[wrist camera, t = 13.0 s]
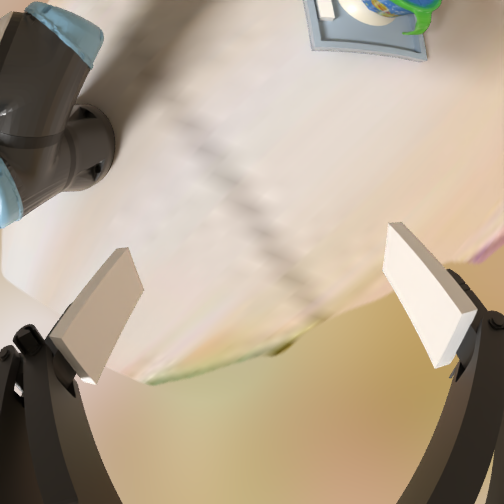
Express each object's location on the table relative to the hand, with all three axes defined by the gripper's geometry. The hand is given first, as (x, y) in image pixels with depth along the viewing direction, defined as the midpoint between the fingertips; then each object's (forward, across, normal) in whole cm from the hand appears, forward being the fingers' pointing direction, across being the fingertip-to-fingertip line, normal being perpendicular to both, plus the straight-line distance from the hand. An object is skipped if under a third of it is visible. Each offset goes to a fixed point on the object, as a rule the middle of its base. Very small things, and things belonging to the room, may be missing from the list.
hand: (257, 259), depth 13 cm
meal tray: (+29, +18, +26) cm, 43 cm away
